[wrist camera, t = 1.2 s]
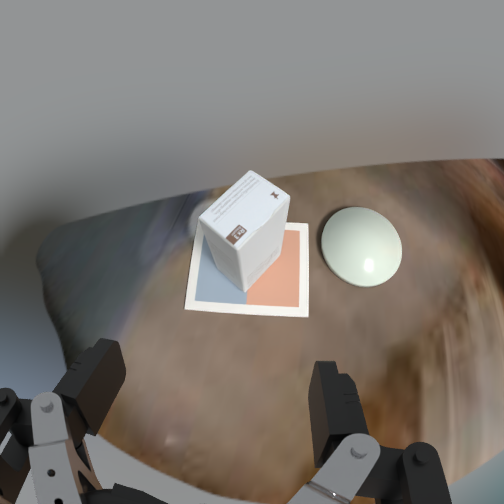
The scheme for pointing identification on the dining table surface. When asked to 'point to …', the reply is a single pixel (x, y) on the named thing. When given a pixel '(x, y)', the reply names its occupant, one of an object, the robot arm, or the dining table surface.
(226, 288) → the blue and orange card
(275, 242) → the skincare box
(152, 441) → the dining table surface
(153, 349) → the dining table surface
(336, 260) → the coaster
